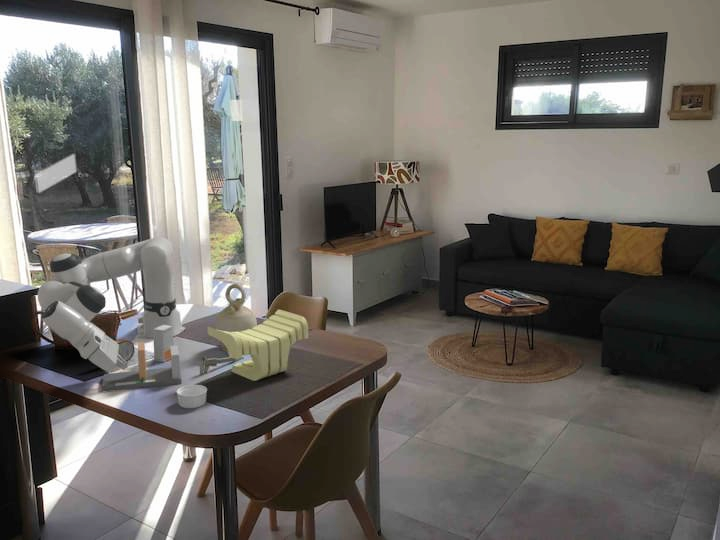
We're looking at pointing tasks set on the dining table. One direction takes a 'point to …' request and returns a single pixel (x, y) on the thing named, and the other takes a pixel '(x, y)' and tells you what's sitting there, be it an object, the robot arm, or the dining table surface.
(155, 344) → the skincare box
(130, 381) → the gauge board
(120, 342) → the tin
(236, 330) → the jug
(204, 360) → the caliper
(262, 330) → the slatted curved stool
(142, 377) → the paddle
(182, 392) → the ramekin
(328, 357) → the dining table surface
